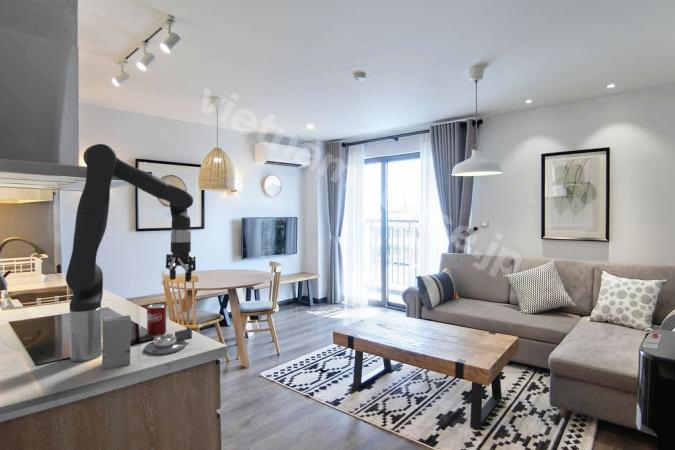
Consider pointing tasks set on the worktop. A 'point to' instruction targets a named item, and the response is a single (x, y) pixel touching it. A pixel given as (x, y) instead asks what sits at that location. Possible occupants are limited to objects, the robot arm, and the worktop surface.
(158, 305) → the soda can
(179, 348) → the cap plate
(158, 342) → the small handled pan
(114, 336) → the skincare box
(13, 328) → the worktop surface
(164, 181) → the robot arm
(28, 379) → the worktop surface
